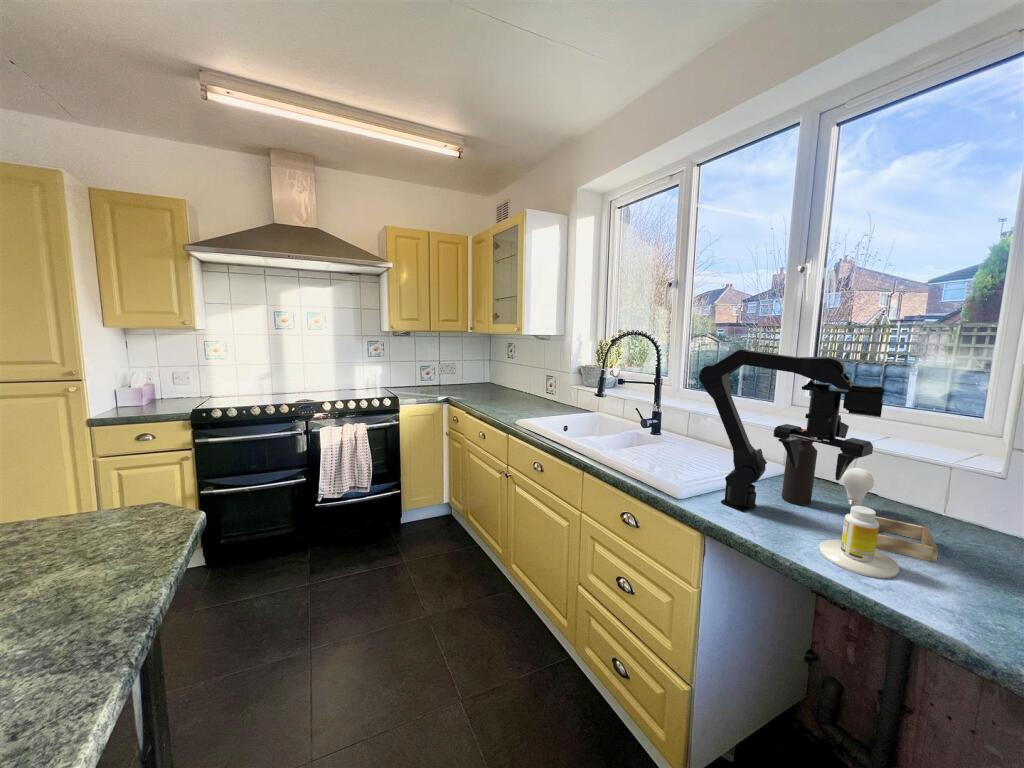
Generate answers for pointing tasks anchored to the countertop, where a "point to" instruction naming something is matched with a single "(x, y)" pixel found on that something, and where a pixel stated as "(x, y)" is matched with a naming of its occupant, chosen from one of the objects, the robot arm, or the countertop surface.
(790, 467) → the vinegar
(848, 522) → the supplement bottle
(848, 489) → the light bulb
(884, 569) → the plate
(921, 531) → the bin frame
